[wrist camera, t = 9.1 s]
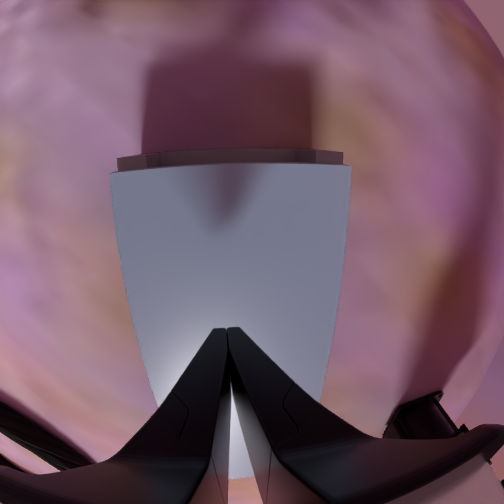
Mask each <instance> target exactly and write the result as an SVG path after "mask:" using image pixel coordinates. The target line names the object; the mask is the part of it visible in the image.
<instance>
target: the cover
mask: <svg viewBox="0 0 504 504" xmlns="http://www.w3.org/2000/svg"><path fill="white" fill-rule="evenodd" d="M351 170H352V166H349V165H344V164H329V163H298V162H244V163H213V164H193V165H177V166H164V167H153V168H142V169H132V170H123V171H116V172H113V173H110V184H111V195H112V204H113V213H114V221H115V229H116V236H117V243H118V249H119V255H120V261H121V267H122V273H123V278H124V283H125V288H126V293H127V298H128V302H129V307H130V311H131V316H132V320H133V324H134V328H135V332H136V336H137V340H138V343H139V347H140V351H141V354H142V358H143V361H144V365H145V368H146V372H147V375H148V378H149V381H150V384H151V388H152V391H153V394H154V397H155V400H156V402H157V405H158V408H159V407H160V405H161V404H162V403H163V401H164V400H165V398H166V397H167V395H168V394H169V392H171V390H172V388H173V387H174V385H175V384H176V382H177V381H178V379H179V378H180V376H181V375H182V374H183V372H184V371H185V369H186V368H187V366H188V365H189V363H190V362H191V360H192V359H193V357H194V356H195V354H196V353H197V351H198V350H199V348H200V347H201V345H202V344H203V342H204V341H205V340H206V338H207V337H208V335H209V334H210V332H211V331H212V329H213V328H226V331H227V328H228V327H240V328H241V329H242V330H243V331H244V332H245V333H246V334H247V335H248V336H249V337H250V338H251V339H252V340H253V341H254V342H255V343H256V344H257V345H258V346H259V347H260V348H261V349H262V350H263V351H264V352H265V353H266V354H267V355H268V356H269V357H270V358H271V359H272V360H273V361H274V362H275V363H276V364H277V365H278V366H279V367H280V368H281V369H282V370H283V371H284V372H285V373H286V374H287V375H288V376H289V377H290V378H291V379H292V380H294V381H295V383H297V384H298V385H299V386H300V387H301V388H302V389H303V390H304V391H305V392H307V393H308V394H309V395H310V396H311V397H312V398H313V399H315V400H316V401H317V402H319V403H320V399H321V394H322V390H323V385H324V381H325V376H326V371H327V366H328V361H329V356H330V351H331V346H332V340H333V335H334V329H335V323H336V317H337V310H338V304H339V297H340V290H341V283H342V275H343V267H344V258H345V249H346V240H347V229H348V218H349V205H350V189H351ZM231 393H232V388H231ZM248 477H255V475H254V472H253V468H252V465H251V462H250V458H249V455H248V451H247V448H246V444H245V441H244V437H243V433H242V430H241V426H240V422H239V418H238V415H237V411H236V407H235V403H234V399H233V395H232V396H231V422H230V448H229V476H228V479H239V478H248Z"/></svg>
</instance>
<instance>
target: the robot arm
mask: <svg viewBox="0 0 504 504" xmlns="http://www.w3.org/2000/svg"><path fill="white" fill-rule="evenodd" d="M231 388H232V393H231ZM443 394H444V393H443V392H442V391H438V392H436V393H434V394H431V395H428V396H426V397H423V398H421V399H418V400H415V401H412V402H409V403H407V404H404V405H401V406H400V407H399V408H398V409H397V411H396V413H395V415H394V417H393V419H392V421H391V423H390V424H389V426H388V428H387V430H386V432H385V434H384V435H383V437H382V438H383V439H382V438H376V437H373V436H370V435H367V434H365V433H363V432H361V431H360V430H358V429H357V428H355V427H353V426H352V425H350V424H349V423H347V422H346V421H344V420H343V419H341V418H340V417H338V416H337V415H335V414H334V413H332V412H331V411H330V410H328V409H327V408H325V407H324V406H323V405H321V404H320V403H319V402H317V401H316V400H315V399H313V398H312V397H311V396H310V395H309V394H308V393H307V392H305V391H304V390H303V389H302V388H301V387H300V386H299V385H298V384H297V383H295V381H294V380H292V379H291V378H290V377H289V376H288V375H287V374H286V373H285V372H284V371H283V370H282V369H281V368H280V367H279V366H278V365H277V364H276V363H275V362H274V361H273V360H272V359H271V358H270V357H269V356H268V355H267V354H266V353H265V352H264V351H263V350H262V349H261V348H260V347H259V346H258V345H257V344H256V343H255V342H254V341H253V340H252V339H251V338H250V337H249V336H248V335H247V334H246V333H245V332H244V331H243V330H242V329H241V328H240V327H228V328H227V331H226V328H213V329H212V331H211V332H210V334H209V335H208V337H207V338H206V340H205V341H204V342H203V344H202V345H201V347H200V348H199V350H198V351H197V353H196V354H195V356H194V357H193V359H192V360H191V362H190V363H189V365H188V366H187V368H186V369H185V371H184V372H183V374H182V375H181V376H180V378H179V379H178V381H177V382H176V384H175V385H174V387H173V388H172V390H171V392H169V394H168V395H167V397H166V398H165V400H164V401H163V403H162V404H161V405H160V407H159V408H158V409H157V411H156V412H155V413H154V414H153V415H152V416H151V418H150V419H149V420H148V421H147V422H146V423H145V424H144V425H143V426H142V428H141V429H140V430H139V431H138V432H137V433H136V434H135V435H134V436H133V437H132V438H131V439H130V440H129V441H128V442H127V443H126V444H125V445H124V447H123V448H122V449H121V450H120V451H118V452H117V453H116V454H115V455H114V456H112V457H111V458H109V459H107V460H105V461H103V462H100V463H96V464H92V465H88V466H84V467H80V468H75V469H70V470H66V471H61V472H55V473H50V474H27V473H23V472H19V471H17V470H14V469H12V468H9V467H7V466H2V465H0V502H1V503H3V504H228V476H229V448H230V422H231V396H232V395H233V399H234V403H235V407H236V411H237V415H238V418H239V422H240V426H241V430H242V433H243V437H244V441H245V444H246V448H247V451H248V455H249V458H250V462H251V465H252V468H253V472H254V475H255V478H256V482H257V485H258V488H259V492H260V495H261V498H262V501H263V504H504V480H502V481H501V482H500V480H499V478H498V477H497V475H496V474H495V472H494V471H493V469H492V468H491V467H490V465H491V464H492V462H491V461H490V459H491V458H492V456H494V454H495V453H496V452H497V451H498V450H499V449H500V448H501V447H502V446H503V445H504V426H503V425H500V424H482V425H479V426H477V427H475V428H473V429H472V430H470V431H469V430H468V428H467V427H466V426H465V424H463V425H462V426H460V428H459V429H458V428H457V427H456V425H455V424H454V423H453V421H452V420H451V418H450V417H449V416H448V414H447V413H446V412H445V410H444V409H443V407H442V406H441V405H440V403H439V401H440V400H441V398H442V396H443Z"/></svg>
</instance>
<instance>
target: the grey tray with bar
mask: <svg viewBox="0 0 504 504" xmlns="http://www.w3.org/2000/svg"><path fill="white" fill-rule="evenodd" d="M244 162H298V163H329V164H343V152H336V151H326V150H315V149H289V148H230V149H203V150H185V151H171V152H159V153H148V154H139V155H133V156H127V157H121V158H117V167H118V171H123V170H132V169H142V168H153V167H164V166H177V165H193V164H213V163H244Z"/></svg>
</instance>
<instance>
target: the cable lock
mask: <svg viewBox="0 0 504 504" xmlns="http://www.w3.org/2000/svg"><path fill="white" fill-rule="evenodd" d="M0 432H1V433H2V434H4V435H5V436H7V437H8V438H10V439H11V440H13V441H14V442H16V443H18V444H19V445H21V446H22V447H24V448H26V449H28V450H29V451H31V452H33V453H34V454H36V455H37V456H38V457H40V458H41V459H43V460H44V461H46V462H47V463H49V464H50V465H52V466H53V467H55V468H57V469H58V470H60V471H66V470H70V469H75V468H80V467H84V466H88V465H91V464H90V463H89V462H88V461H87V460H86V459H84V458H83V457H81V456H80V455H79V454H77V453H76V452H74V451H73V450H72V449H70V448H69V447H68V446H66V445H65V444H64V443H63V442H61V441H60V440H59V439H57V438H56V437H54V436H53V435H51V434H50V433H48V432H47V431H45V430H44V429H42V428H40V427H39V426H37V425H36V424H34V423H33V422H31V421H30V420H28V419H27V418H25V417H24V416H22V415H21V414H19V413H18V412H16V411H14V410H13V409H11V408H9V407H7V406H5V405H3V404H1V403H0ZM0 465H2V466H7V467H9V468H12V469H14V470H17V471H19V472H23V473H25V472H24V471H22V470H20V469H18V468H16V467H15V466H14V465H12V464H11V463H9V462H8V461H7V460H6V459H4V458H3V457H2V456H0Z"/></svg>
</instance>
